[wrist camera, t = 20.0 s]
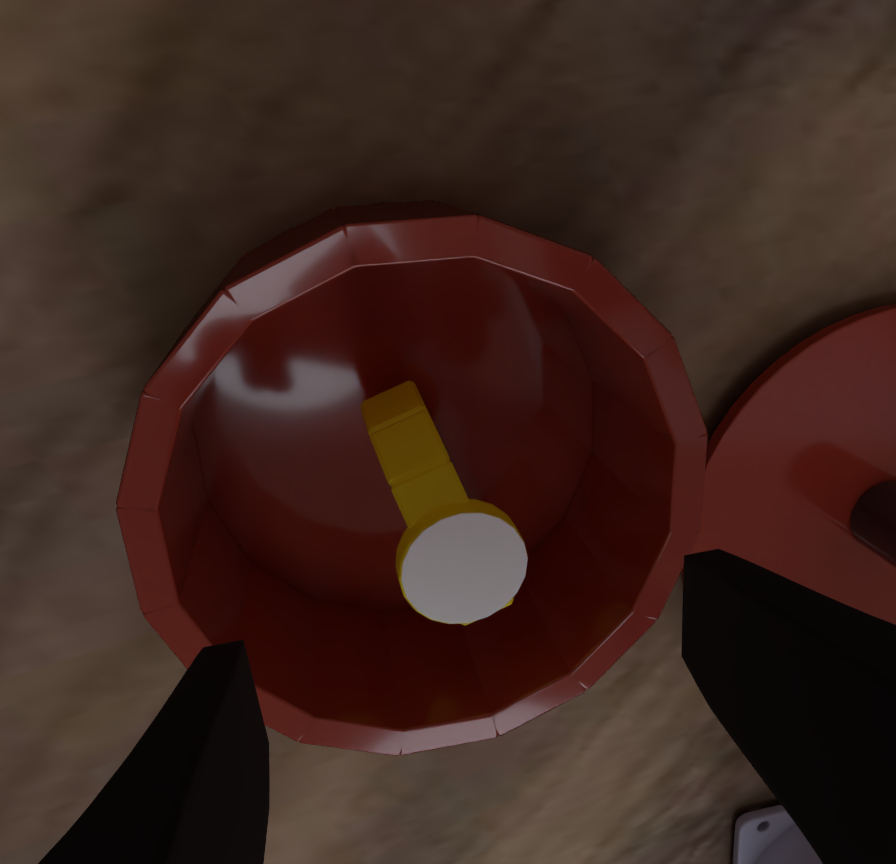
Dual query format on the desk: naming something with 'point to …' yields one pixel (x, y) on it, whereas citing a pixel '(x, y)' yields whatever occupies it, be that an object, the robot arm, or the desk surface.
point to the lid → (814, 466)
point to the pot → (370, 497)
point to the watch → (441, 518)
